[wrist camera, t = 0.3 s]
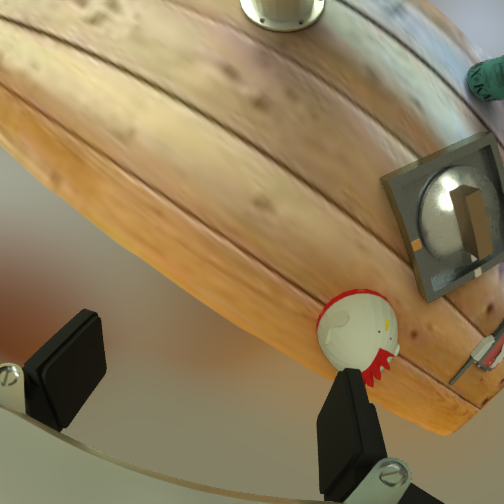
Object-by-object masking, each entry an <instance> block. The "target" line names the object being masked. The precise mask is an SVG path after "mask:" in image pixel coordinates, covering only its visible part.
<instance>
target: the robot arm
mask: <svg viewBox="0 0 504 504" xmlns="http://www.w3.org/2000/svg"><path fill="white" fill-rule="evenodd" d="M240 3H241V7H242V9H243V11H244V13H245V14H246V16H247V17H248V18H249V19H250V20H251V21H252V22H254V23H255V24H257V25H258V26H260V27H263V28H265V29H269V30H272V31H280V32H288V31H295V30H299V29H302V28H305V27H307V26H309V25H311V24H312V23H313V22H315V21H316V20H317V19H318V17H319V16H320V15H321V13H322V11H323V8H324V3H325V0H320V1H318V0H240ZM262 22H265V23H262ZM299 23H302V24H299ZM24 365H25V366H24V367H23V368H22V369H21V368H20V367H19V366H18V365H16V364H13V363H4V364H1V365H0V504H444V503H443V502H441V501H439V500H438V499H436V498H435V497H433V496H431V495H430V494H428V493H427V492H425V491H423V490H422V489H420V488H419V487H417V486H416V485H414V484H413V483H411V480H412V472H411V469H410V468H409V466H408V465H407V464H406V463H405V462H403V461H402V460H400V459H397V458H391V457H390V458H388V457H387V452H386V449H385V444H384V440H383V436H382V432H381V428H380V424H379V420H378V416H377V412H376V408H375V406H374V405H373V404H372V403H369V400H368V396H367V392H366V389H365V385H364V381H363V377H362V374H361V371H360V369H354V368H344V370H343V371H339V372H338V374H337V376H336V378H335V381H334V383H333V385H332V387H331V390H330V392H329V394H328V396H327V399H326V401H325V403H324V405H323V407H322V409H321V411H320V413H319V415H318V418H317V441H318V462H319V490H320V493H321V494H324V501H313V500H299V499H288V498H278V497H270V496H262V495H255V494H248V493H242V492H236V491H231V490H225V489H220V488H216V487H211V486H206V485H202V484H198V483H193V482H190V481H186V480H182V479H178V478H175V477H171V476H168V475H164V474H161V473H158V472H155V471H152V470H149V469H145V468H143V467H140V466H137V465H134V464H131V463H129V462H126V461H123V460H121V459H118V458H115V457H113V456H110V455H108V454H105V453H103V452H100V451H98V450H96V449H94V448H91V447H89V446H87V445H85V444H82V443H80V442H78V441H76V440H74V439H72V438H70V437H68V436H66V435H64V434H62V433H60V432H61V431H62V429H63V428H67V427H68V426H69V424H70V423H71V422H72V420H73V419H74V417H75V416H76V414H77V413H78V411H79V410H80V409H81V407H82V406H83V404H84V403H85V402H86V400H87V399H88V397H89V396H90V395H91V393H92V391H93V390H94V389H95V388H96V386H97V385H98V383H99V382H100V381H101V379H102V378H103V377H104V375H105V373H106V369H107V367H106V360H105V351H104V343H103V335H102V324H101V318H100V317H98V314H97V313H96V312H93V311H90V310H87V309H83V310H81V311H80V312H79V313H78V314H77V315H76V316H75V317H73V318H72V319H71V320H70V321H69V322H68V323H67V324H66V325H65V326H64V327H63V328H61V329H60V330H59V331H58V332H57V333H56V334H55V335H54V336H53V337H52V338H51V339H49V340H48V341H47V342H46V343H45V344H44V345H43V346H42V347H41V348H40V349H39V350H38V351H37V352H36V353H35V354H34V355H33V356H32V357H31V358H30V359H29V360H28V361H26V362H25V364H24ZM326 501H333V502H326Z"/></svg>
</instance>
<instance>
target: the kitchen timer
mask: <svg viewBox="0 0 504 504" xmlns="http://www.w3.org/2000/svg"><path fill="white" fill-rule="evenodd" d="M317 337H318V342H319V345H320V347H321V349H322V351H323V353H324V355H325V356H326V358H327V359H328V360H329V362H330V363H331V364H332V365H333V366H334V367H335V368H336V369H337V370H338V371H343V370H344V368H354V369H360V371H361V374H362V377H363V381H364V385H365V384H366V383H367V385H368V386H370V387H373V386H374V384H373V376H374V377H375V378H376V379H378V380H381V373H380V372H381V371H382V370H383V369H384V368H386V369H388V370H390V367H389V362H390V361H391V359H392V358H395V357H396V356H397V355H398V352H399V349H400V345H399V344H398V343H397V338H398V324H397V320H396V316H395V313H394V310H393V308H392V306H391V305H390V303H389V302H388V301H387V299H386V298H385V297H384V296H382V295H381V294H379V293H378V292H375V291H371V290H368V289H355V290H351V291H347V292H344V293H342V294H340V295H338V296H337V297H335V298H333V299H332V300H331V301H330V302H329V303H328V304H327V305H326V306H325V307H324V308H323V310H322V312H321V313H320V315H319V318H318V322H317Z"/></svg>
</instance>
